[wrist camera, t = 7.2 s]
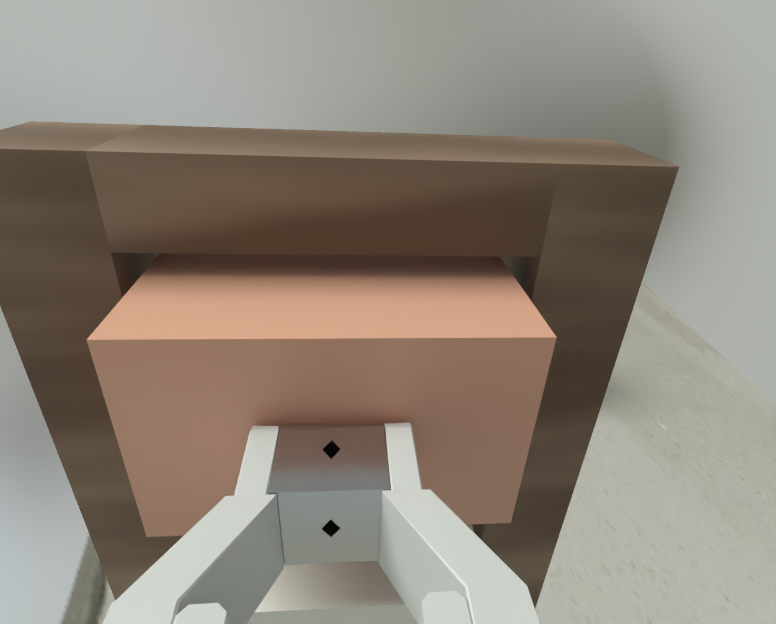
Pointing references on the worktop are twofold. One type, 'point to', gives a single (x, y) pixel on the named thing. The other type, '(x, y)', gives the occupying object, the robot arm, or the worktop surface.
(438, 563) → the robot arm
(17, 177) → the key panel
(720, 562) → the worktop surface
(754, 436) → the worktop surface
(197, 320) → the terracotta key
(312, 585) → the cream key
